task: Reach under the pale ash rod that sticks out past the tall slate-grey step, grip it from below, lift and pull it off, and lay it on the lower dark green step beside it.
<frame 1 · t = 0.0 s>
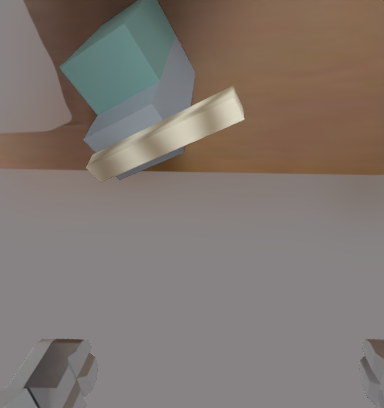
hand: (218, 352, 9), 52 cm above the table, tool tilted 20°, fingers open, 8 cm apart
ash rod: (161, 132, 35), point 25 cm above the table, touching stepped riser
stepped riser: (150, 49, 52), on the table
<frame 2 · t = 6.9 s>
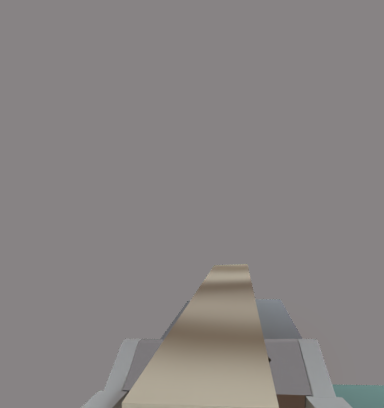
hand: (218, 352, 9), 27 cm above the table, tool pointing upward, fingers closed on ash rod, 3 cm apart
ash rod: (228, 345, 14), point 25 cm above the table, touching gripper, stepped riser
when the fingers open (22 cm above the table, at t = 15.2 s): ash rod drops 2 cm, resting on stepped riser.
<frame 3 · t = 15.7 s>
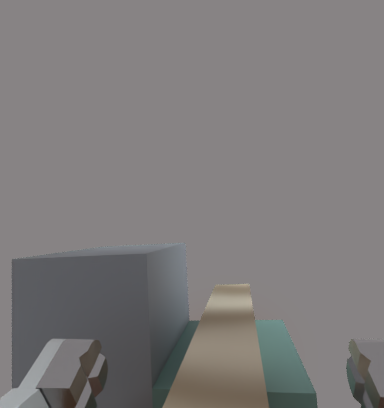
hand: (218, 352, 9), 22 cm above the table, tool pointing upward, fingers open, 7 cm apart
ash rod: (230, 379, 14), point 19 cm above the table, touching stepped riser
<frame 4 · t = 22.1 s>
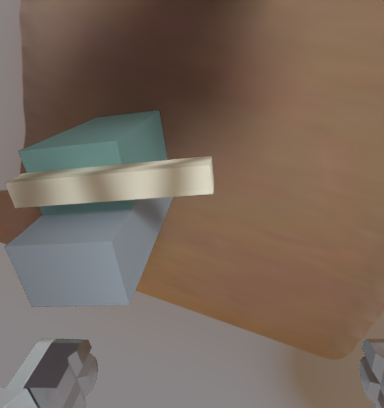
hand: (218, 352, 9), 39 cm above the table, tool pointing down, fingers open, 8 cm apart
ash rod: (115, 177, 29), point 19 cm above the table, touching stepped riser
stepped riser: (136, 158, 48), on the table
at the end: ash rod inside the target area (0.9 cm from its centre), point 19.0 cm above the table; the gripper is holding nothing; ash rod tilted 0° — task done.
